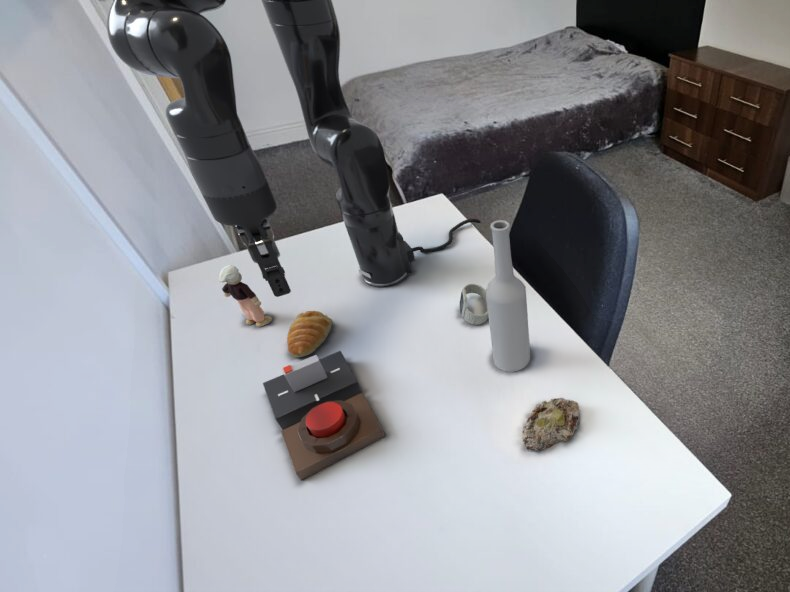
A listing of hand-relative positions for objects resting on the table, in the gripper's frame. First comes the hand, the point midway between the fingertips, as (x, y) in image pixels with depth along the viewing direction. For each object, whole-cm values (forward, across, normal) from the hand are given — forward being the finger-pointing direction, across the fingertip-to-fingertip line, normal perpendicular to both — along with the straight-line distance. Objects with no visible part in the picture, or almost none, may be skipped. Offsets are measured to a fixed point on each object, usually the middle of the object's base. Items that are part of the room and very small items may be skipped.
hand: (277, 279), depth 72 cm
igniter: (+17, -19, +1) cm, 26 cm away
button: (+14, -19, +1) cm, 24 cm away
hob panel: (+17, -9, +2) cm, 20 cm away
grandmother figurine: (+17, +16, +6) cm, 24 cm away
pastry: (+17, +5, -1) cm, 18 cm away
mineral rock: (+17, -37, -26) cm, 48 cm away
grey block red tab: (+14, -9, +2) cm, 17 cm away
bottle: (+17, -21, -29) cm, 39 cm away
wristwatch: (+17, -6, -29) cm, 34 cm away
